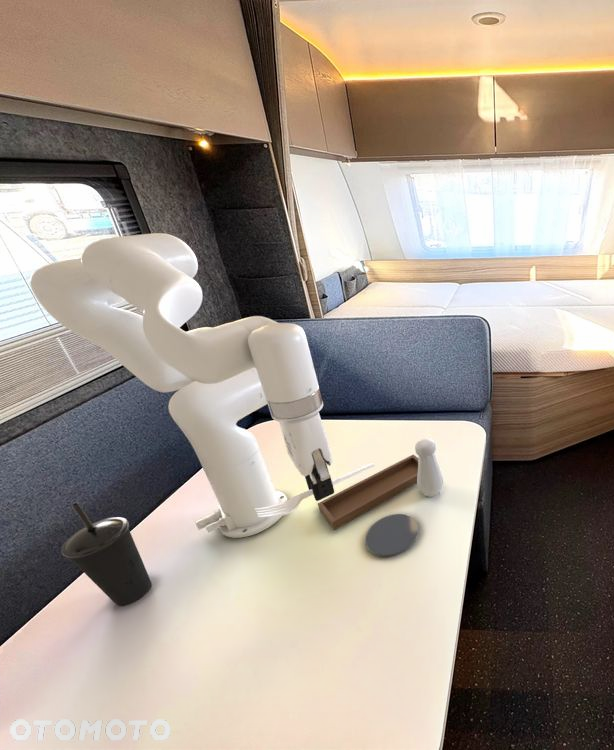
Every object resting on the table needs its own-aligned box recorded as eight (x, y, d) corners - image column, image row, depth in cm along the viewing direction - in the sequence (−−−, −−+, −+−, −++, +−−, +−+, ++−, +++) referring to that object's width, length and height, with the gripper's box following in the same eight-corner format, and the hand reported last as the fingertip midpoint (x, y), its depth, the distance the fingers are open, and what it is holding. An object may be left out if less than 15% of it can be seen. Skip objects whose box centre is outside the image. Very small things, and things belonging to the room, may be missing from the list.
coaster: (382, 566, 69) (381, 564, 69) (357, 535, 76) (356, 533, 75) (428, 535, 75) (428, 532, 75) (402, 508, 82) (401, 506, 82)
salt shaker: (439, 501, 83) (432, 452, 78) (414, 498, 84) (406, 449, 79) (447, 483, 89) (442, 436, 83) (424, 480, 90) (417, 433, 84)
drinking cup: (94, 622, 62) (24, 531, 53) (115, 583, 68) (55, 495, 59) (153, 603, 64) (95, 513, 56) (167, 566, 71) (118, 481, 62)
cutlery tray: (333, 530, 77) (331, 522, 76) (319, 510, 82) (317, 503, 81) (431, 474, 92) (430, 467, 91) (414, 460, 97) (413, 454, 96)
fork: (377, 470, 74) (376, 462, 73) (261, 526, 62) (258, 518, 61) (370, 462, 76) (368, 455, 75) (257, 515, 64) (253, 507, 63)
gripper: (257, 392, 64) (286, 478, 72) (284, 431, 53) (315, 529, 61) (304, 378, 69) (327, 461, 77) (338, 412, 58) (360, 505, 65)
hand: (321, 490), depth 69 cm, fingers closed on fork, 2 cm apart
